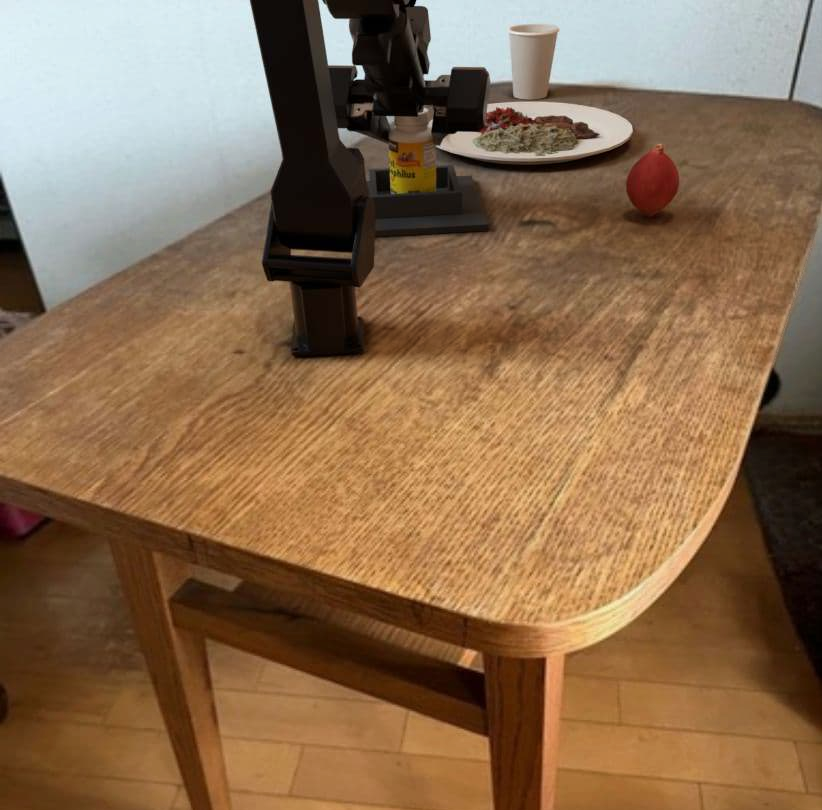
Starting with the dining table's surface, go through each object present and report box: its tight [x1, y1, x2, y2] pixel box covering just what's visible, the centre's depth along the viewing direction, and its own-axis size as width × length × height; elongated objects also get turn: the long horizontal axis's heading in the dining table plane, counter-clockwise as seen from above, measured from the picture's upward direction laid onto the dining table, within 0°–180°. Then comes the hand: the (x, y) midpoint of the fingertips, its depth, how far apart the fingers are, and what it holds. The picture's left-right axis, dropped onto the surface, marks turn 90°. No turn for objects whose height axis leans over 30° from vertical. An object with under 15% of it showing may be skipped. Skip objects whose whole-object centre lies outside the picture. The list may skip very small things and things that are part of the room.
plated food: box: [429, 101, 633, 166], centre depth 124 cm, size 30×30×3 cm
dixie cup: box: [507, 23, 560, 100], centre depth 143 cm, size 8×8×10 cm
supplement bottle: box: [388, 107, 437, 194], centre depth 101 cm, size 6×6×10 cm
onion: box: [625, 143, 680, 218], centre depth 98 cm, size 6×6×8 cm
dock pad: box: [366, 164, 490, 238], centre depth 104 cm, size 18×16×3 cm
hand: (414, 141), depth 101 cm, fingers closed on supplement bottle, 5 cm apart
